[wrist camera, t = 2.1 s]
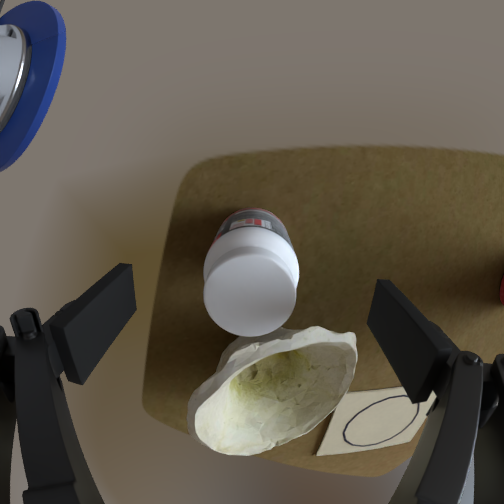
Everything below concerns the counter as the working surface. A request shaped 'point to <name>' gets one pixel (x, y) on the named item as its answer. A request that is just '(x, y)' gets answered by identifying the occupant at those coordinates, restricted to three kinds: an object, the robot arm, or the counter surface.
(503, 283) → the mug
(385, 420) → the beige flat square sheet
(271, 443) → the bowl
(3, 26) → the robot arm
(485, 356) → the counter surface
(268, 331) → the pill bottle
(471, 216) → the counter surface
